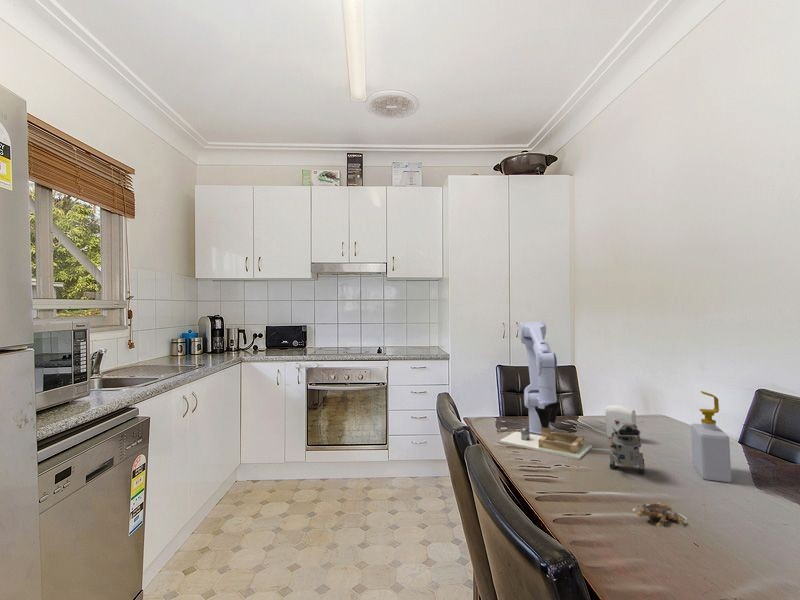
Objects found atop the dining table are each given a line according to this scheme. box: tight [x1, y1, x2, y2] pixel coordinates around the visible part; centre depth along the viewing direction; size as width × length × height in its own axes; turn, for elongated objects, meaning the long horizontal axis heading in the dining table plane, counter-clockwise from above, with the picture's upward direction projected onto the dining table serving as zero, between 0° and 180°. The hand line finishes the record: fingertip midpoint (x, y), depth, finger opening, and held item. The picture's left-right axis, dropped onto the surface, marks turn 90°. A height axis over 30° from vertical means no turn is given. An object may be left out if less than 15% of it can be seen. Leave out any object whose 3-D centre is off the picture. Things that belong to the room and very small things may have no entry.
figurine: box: [609, 419, 646, 475], centre depth 118 cm, size 9×12×15 cm
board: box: [498, 431, 593, 460], centre depth 142 cm, size 14×28×1 cm, turn 49°
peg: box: [520, 426, 531, 441], centre depth 147 cm, size 3×3×4 cm
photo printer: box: [605, 404, 637, 439], centre depth 147 cm, size 10×4×12 cm, turn 39°
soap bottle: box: [690, 390, 732, 483], centre depth 115 cm, size 12×7×23 cm, turn 155°
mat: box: [539, 440, 591, 456], centre depth 138 cm, size 13×13×1 cm
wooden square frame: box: [538, 426, 585, 454], centre depth 139 cm, size 12×13×6 cm
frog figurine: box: [632, 501, 688, 528], centre depth 91 cm, size 12×12×4 cm
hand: (548, 424), depth 142 cm, fingers open, 7 cm apart
